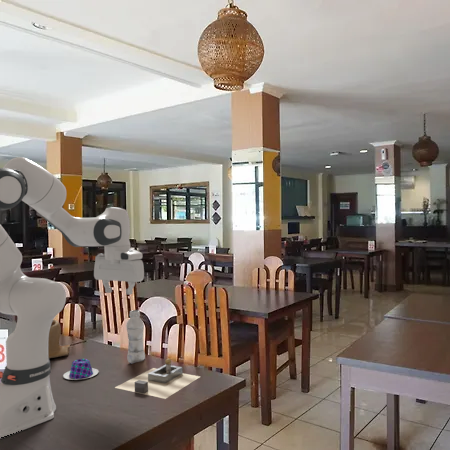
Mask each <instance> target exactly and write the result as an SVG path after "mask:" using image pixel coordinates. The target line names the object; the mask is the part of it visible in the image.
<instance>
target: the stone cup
mask: <svg viewBox="0 0 450 450" xmlns="http://www.w3.org/2000/svg"><path fill="white" fill-rule="evenodd" d="M61 331H62V329H61V323H60V322H59V321H58V320H56V319H53V321H52V324H51V327H50V331H49V337H48V358H49V359H53V358H60V357H64V356H68V355H69V354H70V351H71V344H65V345H60V340H61Z"/></svg>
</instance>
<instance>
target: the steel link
mask: <svg viewBox="0 0 450 450" xmlns="http://www.w3.org/2000/svg"><path fill="white" fill-rule="evenodd" d="M164 373H166V364H164V365H161V366H160V367H158V368H156V370H154V371H152V372H150V373H148V380H149V381H154V382H160V383H165V384H166V383H167V382H169V381H171V380H172V379H174V378H176V377H178V376H179V375H181V374H183V373H184V372H183V367H182V366H176V365H171V372H169V373H167V374H165V375H163V374H164Z"/></svg>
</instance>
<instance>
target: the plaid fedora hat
mask: <svg viewBox="0 0 450 450" xmlns="http://www.w3.org/2000/svg"><path fill="white" fill-rule="evenodd" d="M99 372H100V371H99V369H97V368H95V367H94V368H93V367H92V364H91V361H90V360H89V359H87V358H79V359H75V360H73V361H72V362H71V365H70V370H68V371H67V372H65V373H63V375H62V377H63V379H66V380H72V381H73V380H74V381H78V380H86V379H89V378H92V377H94V376H97V375H98V374H99Z"/></svg>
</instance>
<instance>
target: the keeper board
mask: <svg viewBox="0 0 450 450" xmlns="http://www.w3.org/2000/svg"><path fill="white" fill-rule="evenodd" d="M164 361H165V362H164V363H165V365H166V373H164V374H163V375H165V374H167V373H169V372H171V364H172V359H171V358H167V359H165V360H164ZM156 369H157V368H156V367H152V368H151V369H149V370H148V369H147V370H146V371H144V372H142V373H140V374H139V375H137V376H134V377H133V378H131V379H129V380H126V381H125V382H123V383H121V384H119V385H117V386H115V387H114V388H115V389H119V390H121V391H122V390H123V391H128V392H133V393H135V394H136V393H137V394H142V395H145V396H150V397H154V398H159V399H162V400H163V399H164V400H166V399H168V398H170V397H171V396H172V395H174V394H176V393H177V392H179V391H181V390H183V389H184V388H185V387H187V386H188V385H190V384H191V383H193V382H195V381H196V380H198V379H200V378H201V376H199V375H194V374H188V373H184V372H183V374H181V375H179V376H178V377H176V378H174V379H172V380H171V381H169V382H167V383H166V384H165V383H160V382H154V381H149V380H148V373H150V372H152V371H154V370H156Z"/></svg>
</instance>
